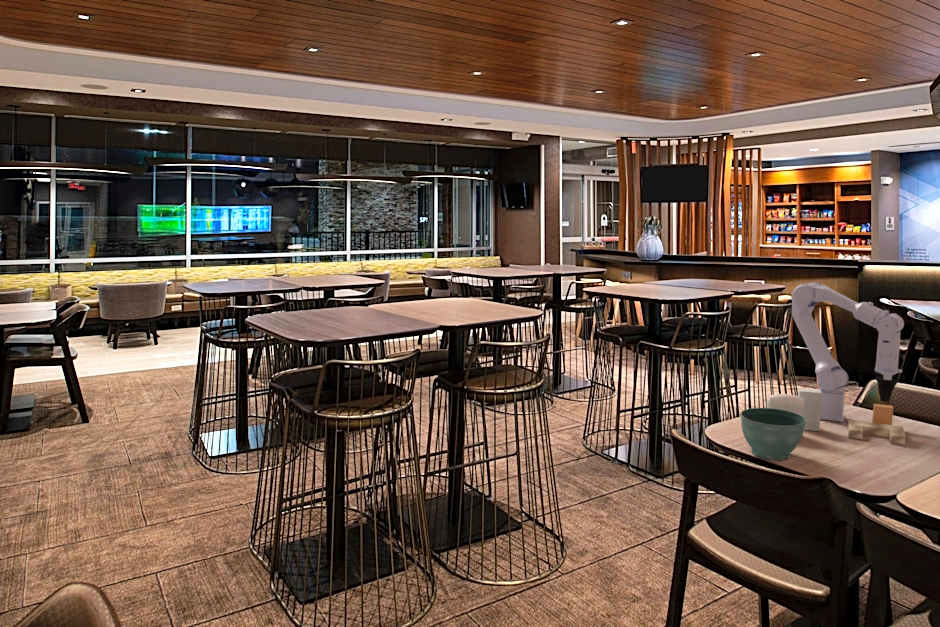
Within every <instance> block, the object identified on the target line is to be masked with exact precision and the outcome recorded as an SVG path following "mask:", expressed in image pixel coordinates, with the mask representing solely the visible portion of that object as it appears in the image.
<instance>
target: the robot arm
mask: <svg viewBox="0 0 940 627" xmlns="http://www.w3.org/2000/svg"><path fill="white" fill-rule="evenodd" d="M790 297H791V300H792V303H791V316H792V318H793V321H794V322H795V325H796V327H797V329H798V332H799V333H800V335H801V337H802V339H803V341H804V344H805V345H806V347H807V349H808V351H809V354H810V355H811V358H812V359H813V361H814V364H815V370H814V372H815V374H816V378H817V380H816V382H817V386H818V387H819V388H814V389H815V390H820V392H821V393H822V394H821V411H820V420H823V421H834V422H840V423H841V422H842V423H843V422H845V414H844V410H845V409H844V407H845V406H844V405H845V392H846V389H845V386H847V384H848V382H849V380H850V379H849V374H848V373H847V371H846V370H844V369H843V368H842V367H841V365H840V363H839V362H838V361H837V360H835V359H834V357H833V356H832V354H831V352H830V350H829V347H828V346H827V343H826V342H825V339H824V337H823V336H822V334H821V332H820V329H819V328H818V325H817V323H816V322H815V319H814V318H813V316H812V312H813V310H814V308H815V307H816V305H817V304H818V303H820V302H821V303H823V302H827V303H830V304H832V305H835V306H837V307H840V308H842V309H844V310H846V311H849V312H850V313H852V316H853V318H855V319H856V320H858V321H860V322H862V323H864V324H867V325H868V326H871V327H872V328H875V329H876V331H877V332H878V338H877V347H876V357H875V358H876V360H875V367H874V375H875V380H876V383H877V388H878V394H879V395H878V396H879V399H880V402H885V403H889V402H890V401H891V398H892V394H893V391H894V389H895V387H896V385H897V384H898V383H899V380H898V379H895V377H896V376H897V374H899V373H901V374H902V373H903V369H900V368H899V359H900V358H899V357H900V349H901V347H900V346H901V334H902V333H901V331H902V330H903V329H904V326H905V321H904V319H903V317H901V315H898V314H897V313H896V312H895V313H890V311H889V310H887V309H885V310H883V309H881V308H879V307H878V306H875V305H874V303H873V302H871V301H868V302H866V301H862V302H857V301H855V300H853V299H851V298H849V297H848V296H846V295H844V294H842V293H840V292H838V291H836V290H834V289H832V288H830V287H829V286H827V285H824V284H821V283H819V282H815V281H814V282H809V283H801V284H799V285H797V286H796V287H795V288H794V289H793V292H792V293H791V295H790Z"/></svg>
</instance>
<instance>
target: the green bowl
mask: <svg viewBox="0 0 940 627" xmlns="http://www.w3.org/2000/svg"><path fill="white" fill-rule="evenodd" d="M740 418H741V419H740V420H741V422H740V423H741V430H742V433H743V437H744V438H745V441H746V442H747V444H748V445H749V447H750V449H751V453H752V454H754V455H755V456H756V457H759V458H761V459H765V460H770V461H771V460H773V461H782V460H787V459H788V458H790V457H791V453H792V452H793V451H794V450H795V449H796V448H797V447H798V445H799V444H800V442H801V440H802V437H803V434H804V431H805V430H804V426H805V423H806V419H805V418H804V417H803V416H801V415H799V414H797V413H794V412H791V411H786V410H781V409H773V408H767V407H752V408H746V409H744V410H741V412H740Z"/></svg>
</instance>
